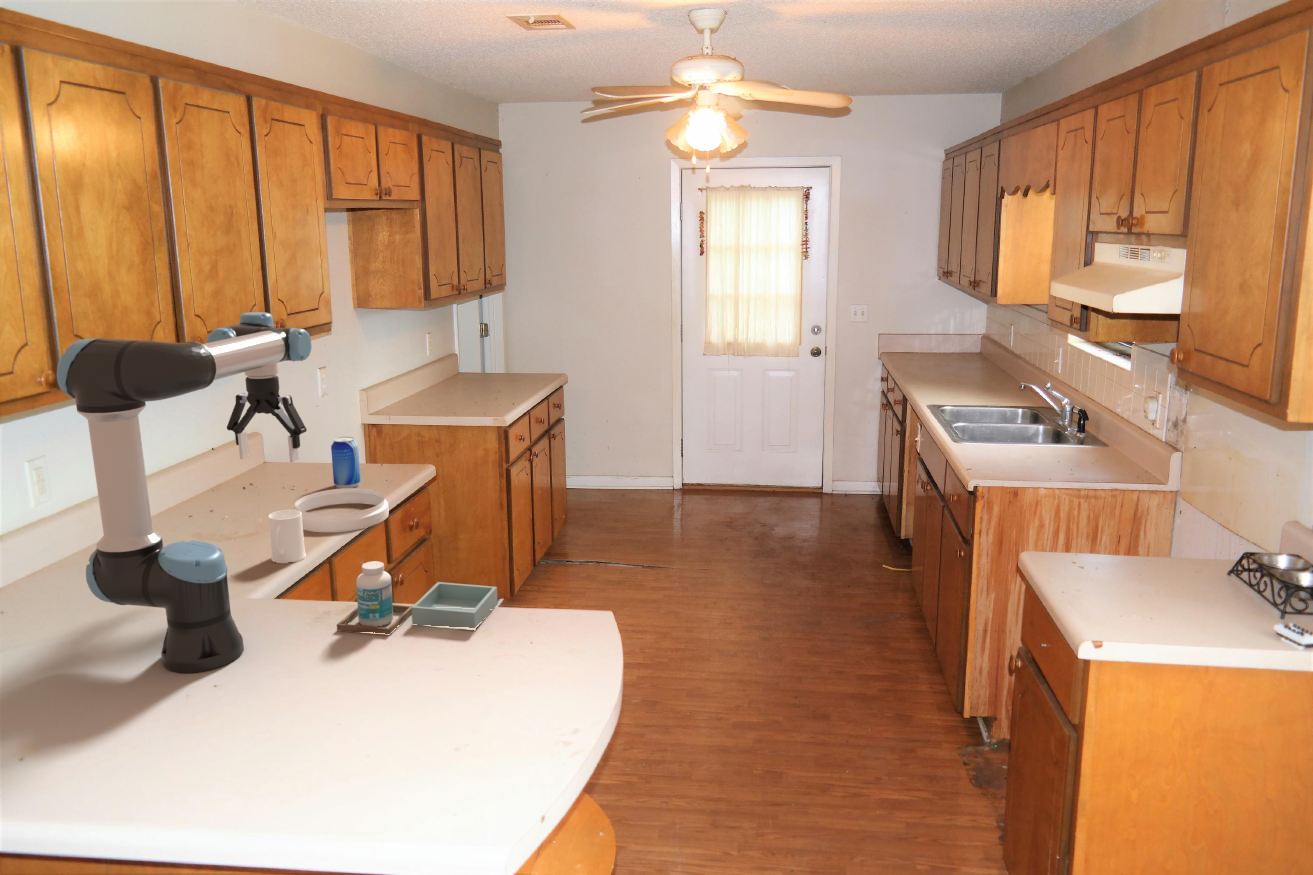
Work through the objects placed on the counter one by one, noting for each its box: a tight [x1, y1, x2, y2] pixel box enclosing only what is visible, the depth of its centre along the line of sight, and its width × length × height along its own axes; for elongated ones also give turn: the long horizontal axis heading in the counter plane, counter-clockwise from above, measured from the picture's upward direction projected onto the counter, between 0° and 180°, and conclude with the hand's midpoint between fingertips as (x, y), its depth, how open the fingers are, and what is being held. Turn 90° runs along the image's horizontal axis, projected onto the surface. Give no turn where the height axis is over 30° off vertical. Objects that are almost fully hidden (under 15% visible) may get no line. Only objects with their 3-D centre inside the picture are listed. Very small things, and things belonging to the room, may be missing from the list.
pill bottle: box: [355, 560, 394, 627], centre depth 205 cm, size 8×7×14 cm
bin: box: [411, 581, 498, 628], centre depth 210 cm, size 15×15×4 cm
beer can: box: [330, 436, 361, 489], centre depth 305 cm, size 8×8×16 cm
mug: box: [268, 509, 307, 564], centre depth 240 cm, size 12×8×12 cm
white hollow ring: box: [292, 487, 390, 533], centre depth 275 cm, size 27×27×5 cm
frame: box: [336, 604, 413, 634], centre depth 206 cm, size 12×12×2 cm
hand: (269, 459), depth 232 cm, fingers open, 13 cm apart
